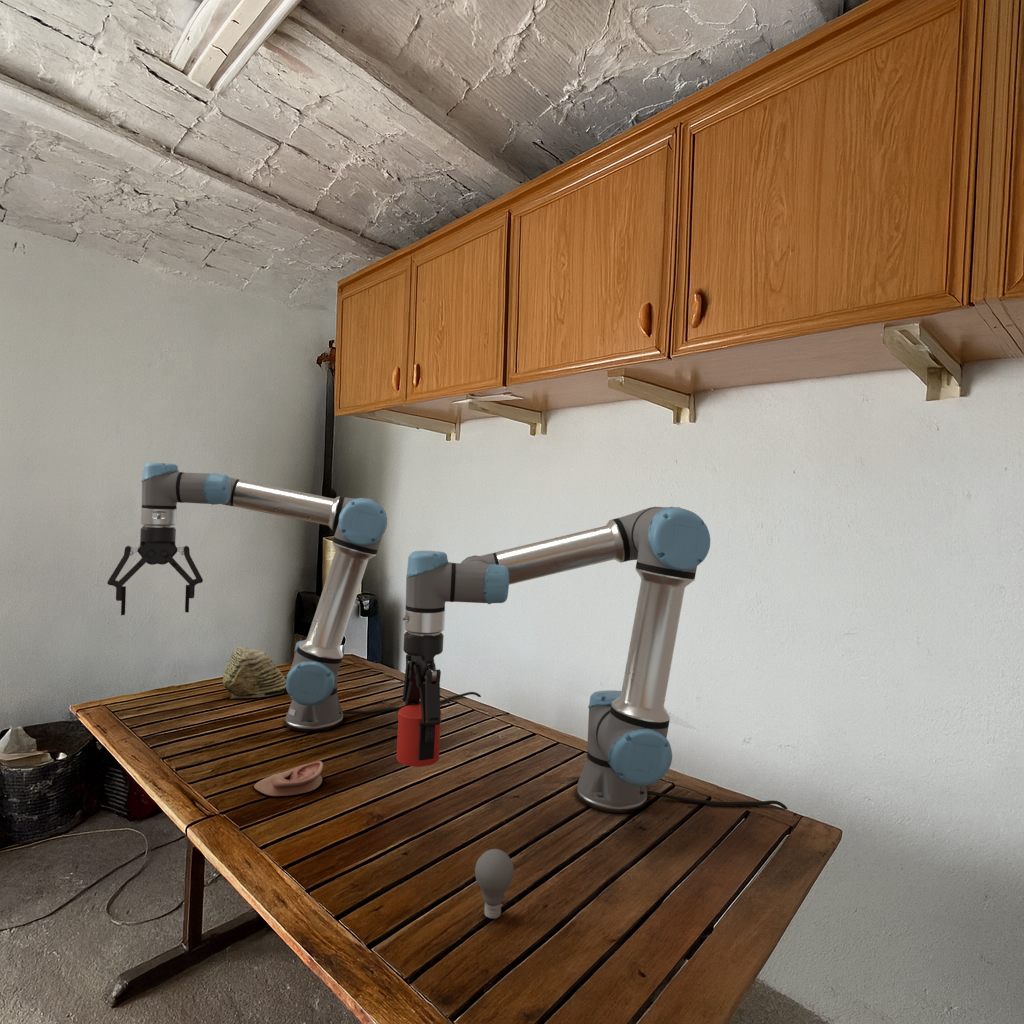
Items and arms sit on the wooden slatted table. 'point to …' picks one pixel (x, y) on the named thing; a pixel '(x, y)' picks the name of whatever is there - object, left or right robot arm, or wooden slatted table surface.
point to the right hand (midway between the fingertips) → (418, 749)
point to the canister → (413, 737)
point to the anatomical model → (292, 781)
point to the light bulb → (494, 879)
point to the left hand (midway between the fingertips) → (155, 613)
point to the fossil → (252, 674)
